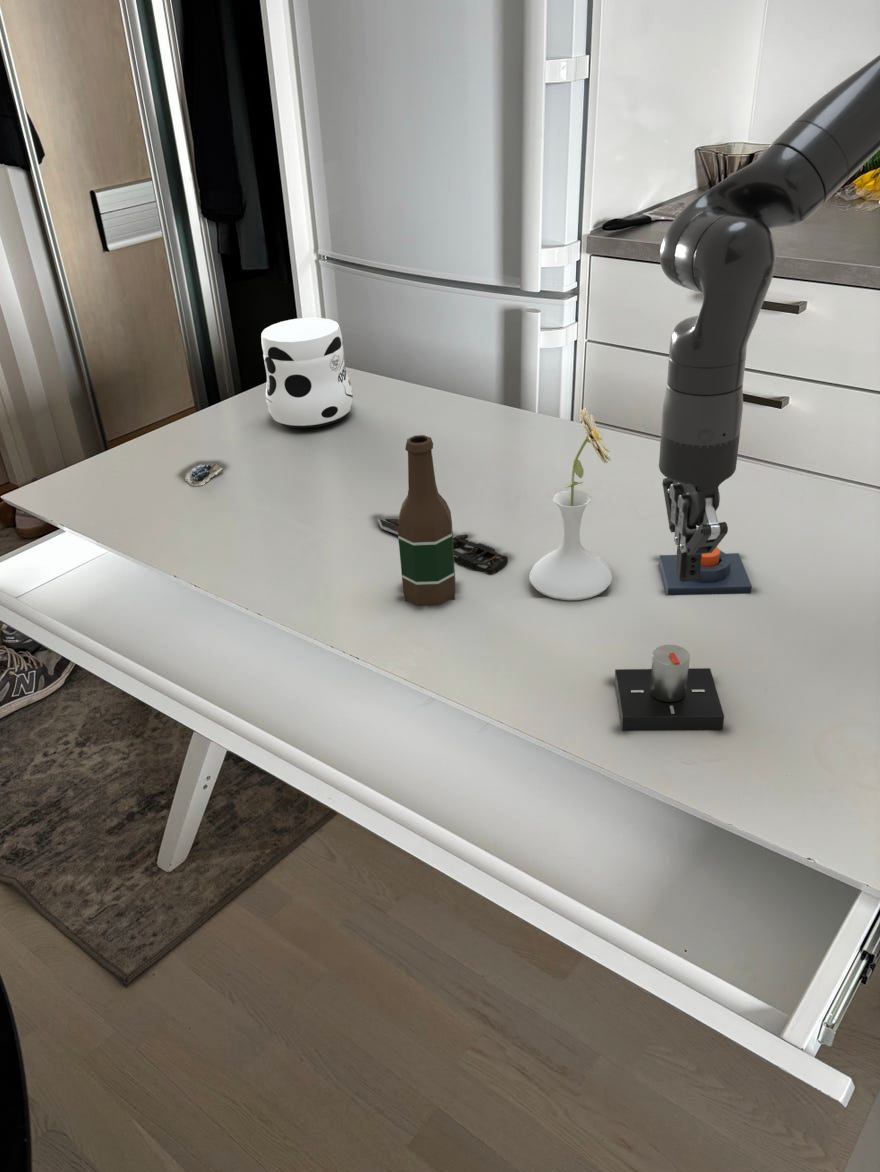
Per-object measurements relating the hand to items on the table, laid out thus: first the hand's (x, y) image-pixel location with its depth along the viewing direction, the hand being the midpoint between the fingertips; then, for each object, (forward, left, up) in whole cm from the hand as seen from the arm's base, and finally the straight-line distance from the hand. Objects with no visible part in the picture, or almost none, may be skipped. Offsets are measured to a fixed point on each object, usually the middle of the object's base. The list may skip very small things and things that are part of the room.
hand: (686, 577), depth 106 cm
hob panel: (+1, +3, -17) cm, 17 cm away
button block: (-8, -26, -17) cm, 32 cm away
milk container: (+58, -92, -17) cm, 111 cm away
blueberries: (+74, -66, -17) cm, 101 cm away
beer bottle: (+30, -23, -17) cm, 42 cm away
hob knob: (+1, +3, -14) cm, 14 cm away
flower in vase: (+10, -26, -17) cm, 33 cm away
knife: (+30, -38, -17) cm, 52 cm away
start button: (-8, -26, -14) cm, 31 cm away
